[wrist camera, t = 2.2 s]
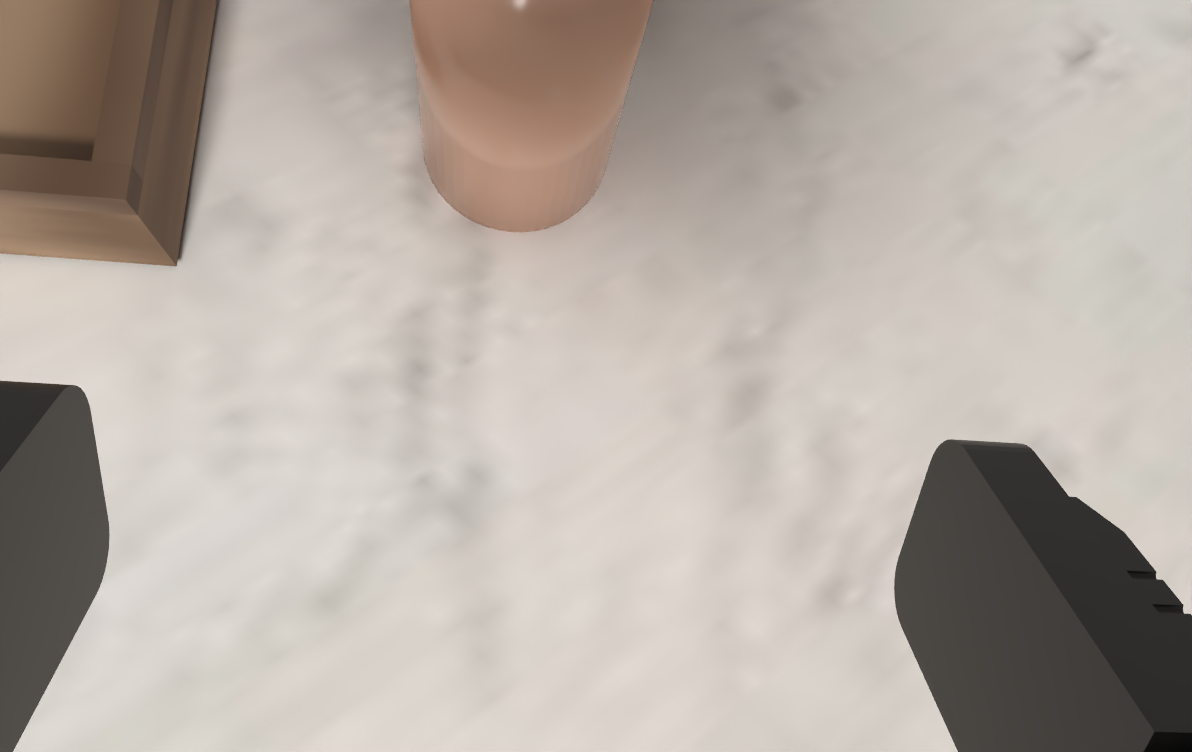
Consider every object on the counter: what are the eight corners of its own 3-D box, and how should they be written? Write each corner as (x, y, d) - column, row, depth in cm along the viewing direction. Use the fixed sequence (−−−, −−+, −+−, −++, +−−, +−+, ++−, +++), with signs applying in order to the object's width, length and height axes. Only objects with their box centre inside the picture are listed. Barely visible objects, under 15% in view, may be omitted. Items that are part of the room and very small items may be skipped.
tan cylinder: (609, 74, 27) (674, -191, 19) (604, 239, 26) (671, 37, 17) (430, 56, 27) (412, -224, 18) (415, 223, 26) (389, 8, 17)
